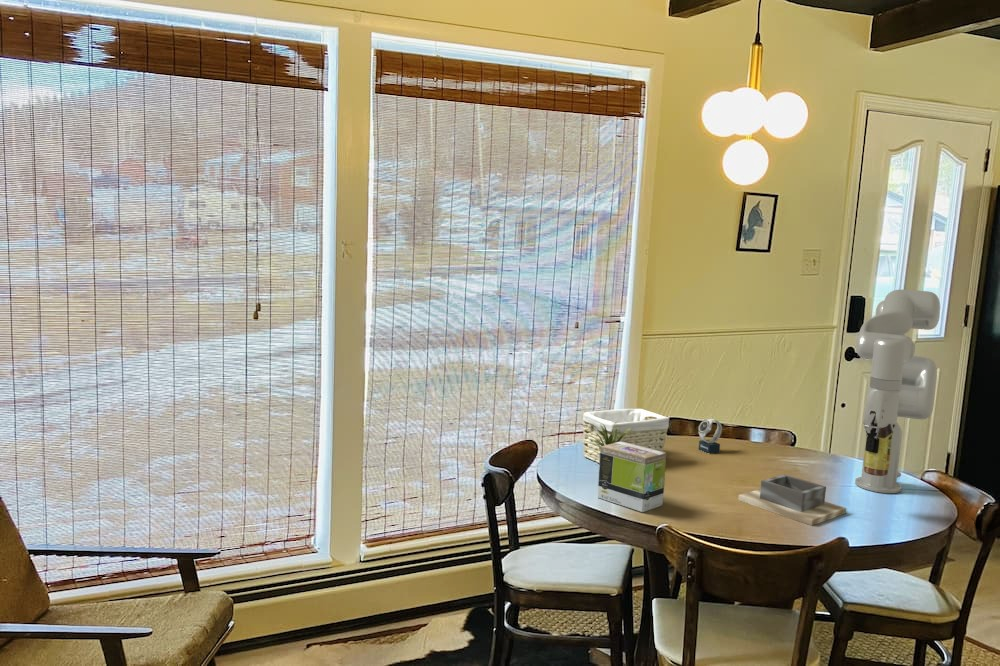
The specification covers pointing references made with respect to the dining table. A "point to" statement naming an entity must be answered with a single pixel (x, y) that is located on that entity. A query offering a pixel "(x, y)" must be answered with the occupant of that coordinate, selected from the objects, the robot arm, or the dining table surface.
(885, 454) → the sauce bottle
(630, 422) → the storage basket
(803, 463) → the dining table surface
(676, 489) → the dining table surface
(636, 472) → the tea box
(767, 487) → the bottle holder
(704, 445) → the watch
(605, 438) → the house plant
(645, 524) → the dining table surface
